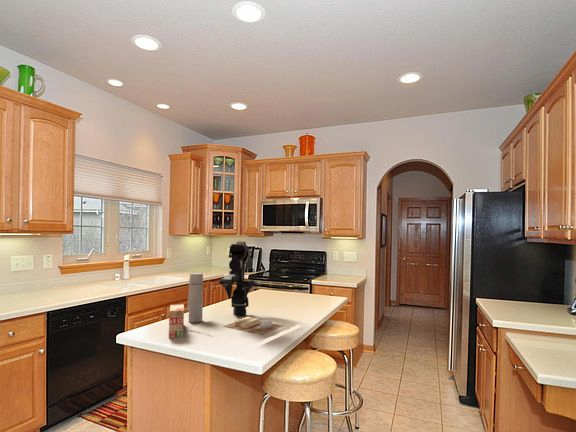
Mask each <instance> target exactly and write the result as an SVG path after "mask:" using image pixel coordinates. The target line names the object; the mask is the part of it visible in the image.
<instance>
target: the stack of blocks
mask: <svg viewBox="0 0 576 432" xmlns="http://www.w3.org/2000/svg"><path fill="white" fill-rule="evenodd" d="M169 306H170V308H169V312H168V316H169V317H168V318H169V319H168V323H169V324H168V339H176V338H183V337H184V329H185V327H184V326H185V324H184V323H185V322H184V321H185V320H184V318H185V306H184V304H182V303H181V304H170V305H169Z"/></svg>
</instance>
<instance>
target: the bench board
mask: <svg viewBox="0 0 576 432" xmlns="http://www.w3.org/2000/svg"><path fill="white" fill-rule="evenodd" d="M261 322H262V321H260V320H259V324H256V325H254V326H251V327H248V328H242V327H237V326H235V321H233V322H232V323H228V324H225V325H222V328H226V329H233V330H235V331H241V332H247V333H251V334H254V335H260V336H263V335H266V334H268V333H271V332H273V331H275V330H277V329H280V328H282V327H284V325H281V324H277V323H272V328H269V329H267V330H264V331H262V330H261Z"/></svg>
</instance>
